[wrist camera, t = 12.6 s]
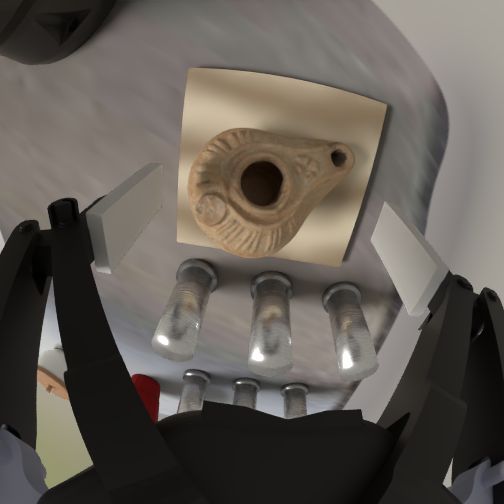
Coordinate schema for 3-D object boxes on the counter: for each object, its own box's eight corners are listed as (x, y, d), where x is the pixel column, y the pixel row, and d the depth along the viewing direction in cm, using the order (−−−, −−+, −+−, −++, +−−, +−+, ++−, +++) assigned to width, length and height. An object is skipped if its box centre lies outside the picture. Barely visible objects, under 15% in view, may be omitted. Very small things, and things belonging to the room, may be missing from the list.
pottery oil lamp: (355, 205, 22) (382, 246, 16) (223, 230, 25) (208, 277, 19) (340, 105, 18) (371, 110, 12) (193, 137, 20) (161, 156, 14)
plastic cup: (173, 376, 41) (156, 438, 31) (173, 401, 47) (160, 452, 36) (115, 357, 40) (91, 414, 30) (123, 385, 46) (105, 433, 36)
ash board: (192, 68, 18) (188, 67, 17) (382, 104, 18) (387, 104, 17) (179, 236, 26) (177, 241, 26) (337, 261, 27) (339, 267, 26)
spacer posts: (178, 255, 28) (143, 325, 19) (365, 284, 28) (391, 355, 20) (184, 380, 41) (172, 431, 33) (303, 395, 42) (305, 447, 33)
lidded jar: (64, 341, 40) (43, 378, 32) (94, 375, 46) (79, 410, 38) (38, 340, 42) (19, 371, 34) (66, 371, 48) (51, 401, 40)
